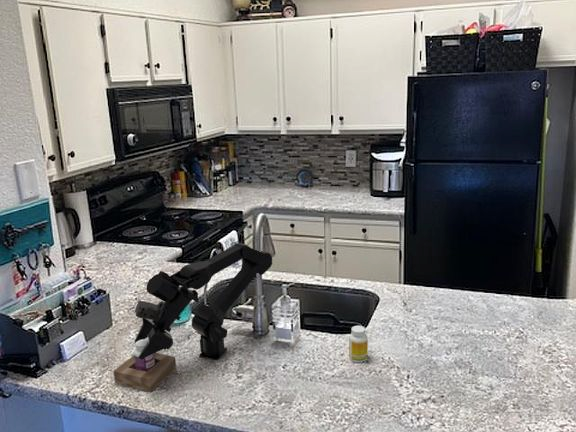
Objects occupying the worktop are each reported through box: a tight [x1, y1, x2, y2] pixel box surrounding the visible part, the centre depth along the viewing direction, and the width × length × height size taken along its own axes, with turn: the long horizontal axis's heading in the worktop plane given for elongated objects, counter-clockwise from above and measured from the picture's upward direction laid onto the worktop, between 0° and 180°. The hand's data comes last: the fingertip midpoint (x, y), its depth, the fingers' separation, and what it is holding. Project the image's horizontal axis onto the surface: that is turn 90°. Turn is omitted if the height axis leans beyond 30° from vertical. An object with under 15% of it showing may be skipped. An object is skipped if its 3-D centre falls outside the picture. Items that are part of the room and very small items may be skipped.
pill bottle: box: [133, 338, 155, 372], centre depth 147 cm, size 5×5×10 cm
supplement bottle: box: [348, 325, 369, 363], centre depth 152 cm, size 5×5×10 cm
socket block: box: [112, 352, 177, 393], centre depth 148 cm, size 12×12×4 cm
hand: (137, 350), depth 145 cm, fingers open, 9 cm apart
